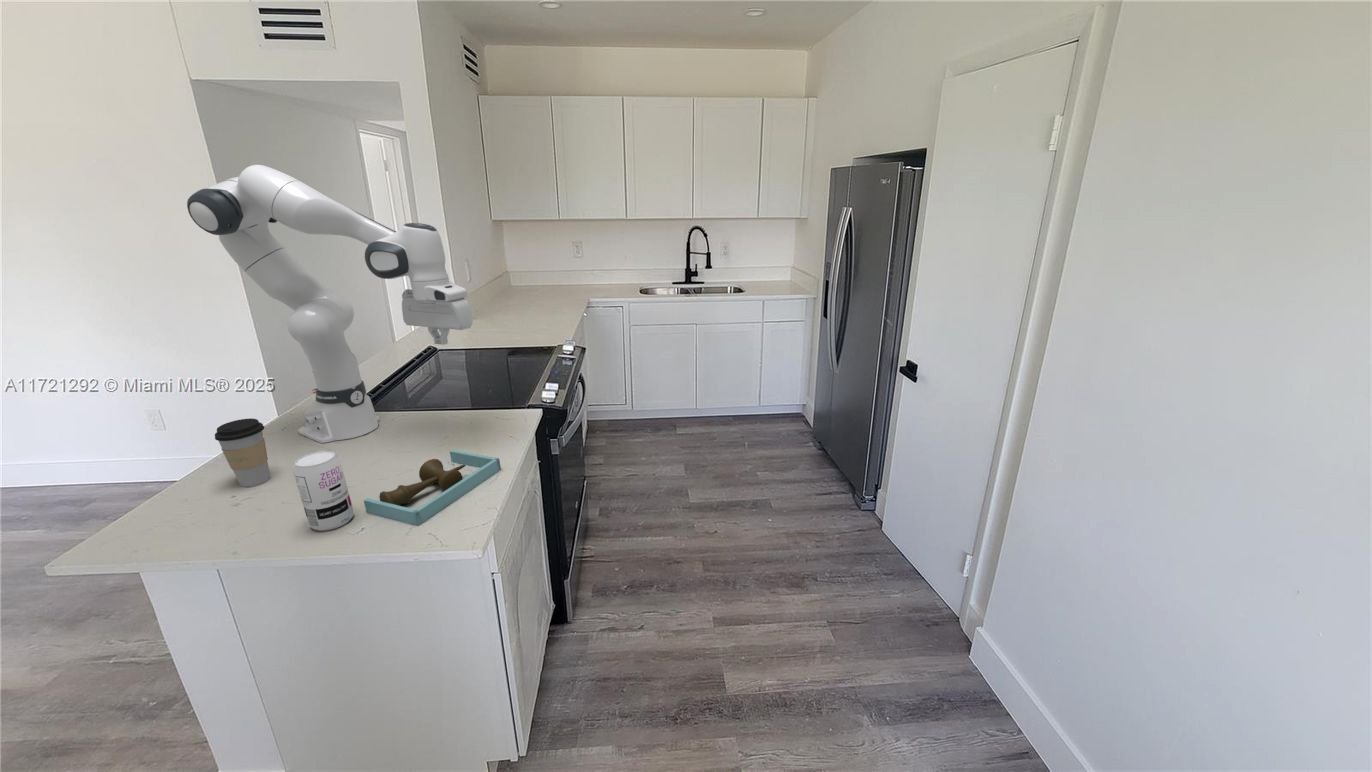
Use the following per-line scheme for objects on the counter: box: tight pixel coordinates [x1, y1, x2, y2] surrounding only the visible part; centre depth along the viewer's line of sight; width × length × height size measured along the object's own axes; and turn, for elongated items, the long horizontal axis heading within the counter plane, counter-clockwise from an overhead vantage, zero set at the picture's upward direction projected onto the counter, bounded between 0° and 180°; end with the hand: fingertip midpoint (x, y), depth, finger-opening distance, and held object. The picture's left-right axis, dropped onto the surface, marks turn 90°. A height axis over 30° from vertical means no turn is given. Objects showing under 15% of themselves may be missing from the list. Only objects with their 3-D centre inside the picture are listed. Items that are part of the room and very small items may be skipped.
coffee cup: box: [214, 418, 271, 488], centre depth 133 cm, size 9×9×15 cm
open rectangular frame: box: [363, 449, 502, 526], centre depth 129 cm, size 15×26×3 cm, turn 158°
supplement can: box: [292, 450, 355, 532], centre depth 115 cm, size 8×8×15 cm
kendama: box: [378, 458, 466, 506], centre depth 127 cm, size 6×10×20 cm
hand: (441, 343), depth 143 cm, fingers closed
